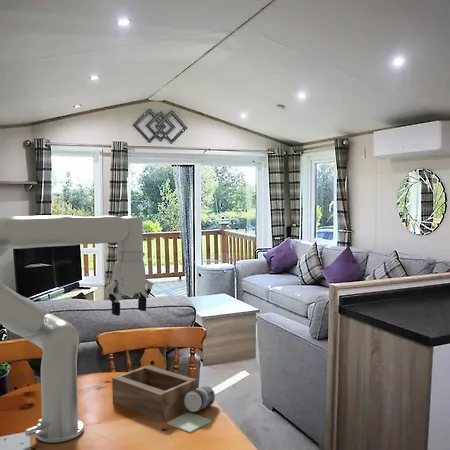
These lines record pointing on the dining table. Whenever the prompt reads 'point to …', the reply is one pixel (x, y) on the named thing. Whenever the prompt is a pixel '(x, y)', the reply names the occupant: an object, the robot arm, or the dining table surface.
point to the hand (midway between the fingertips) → (129, 312)
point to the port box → (152, 392)
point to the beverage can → (199, 398)
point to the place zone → (189, 422)
